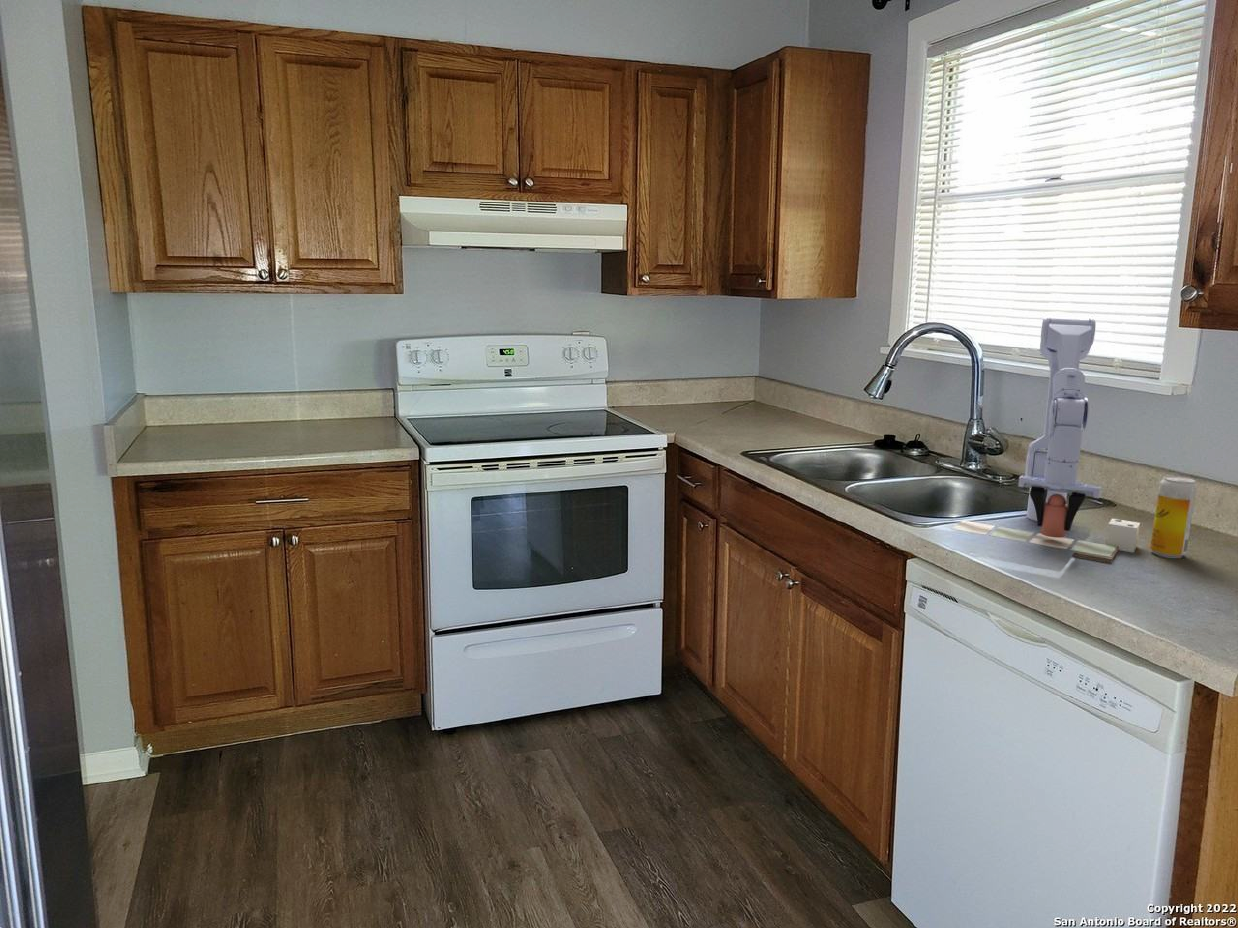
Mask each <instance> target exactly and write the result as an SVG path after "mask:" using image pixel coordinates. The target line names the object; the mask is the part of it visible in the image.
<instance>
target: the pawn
mask: <svg viewBox="0 0 1238 928" xmlns="http://www.w3.org/2000/svg"><path fill="white" fill-rule="evenodd" d="M1067 515H1068V504H1067V498H1066V499H1065V498H1064V496H1062V495H1061V494H1053V495H1051V496H1050V497H1049V499H1048V502H1046V503H1044V510H1043V518H1042V526H1040V534H1042V535H1045V536H1049V537H1057V538H1061V537H1063V538H1066V532H1067V531H1065V525H1066V520H1067Z"/></svg>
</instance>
